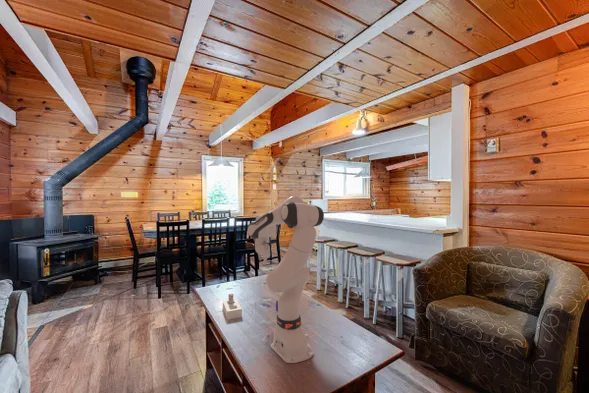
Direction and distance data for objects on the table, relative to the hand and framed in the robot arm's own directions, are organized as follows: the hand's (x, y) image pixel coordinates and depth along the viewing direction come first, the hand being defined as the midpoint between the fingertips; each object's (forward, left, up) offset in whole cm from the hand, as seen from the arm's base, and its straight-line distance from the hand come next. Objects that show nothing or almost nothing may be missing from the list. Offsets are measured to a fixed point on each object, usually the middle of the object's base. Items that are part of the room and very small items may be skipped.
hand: (262, 261), depth 164 cm
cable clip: (-2, -13, -32) cm, 35 cm away
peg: (+8, +19, -31) cm, 37 cm away
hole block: (+4, +19, -31) cm, 37 cm away
